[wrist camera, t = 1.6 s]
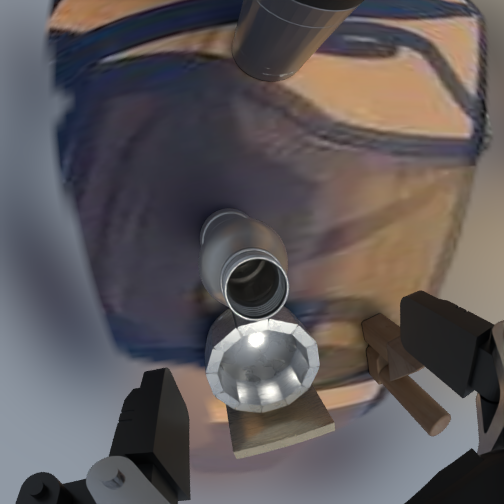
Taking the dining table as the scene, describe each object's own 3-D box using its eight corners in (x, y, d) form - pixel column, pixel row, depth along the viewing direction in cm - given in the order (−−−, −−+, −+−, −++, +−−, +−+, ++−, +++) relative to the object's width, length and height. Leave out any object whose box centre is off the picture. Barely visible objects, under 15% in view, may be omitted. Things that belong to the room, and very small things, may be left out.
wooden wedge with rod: (380, 311, 41) (460, 370, 24) (386, 364, 44) (450, 427, 26) (360, 321, 41) (436, 387, 23) (368, 374, 43) (428, 442, 26)
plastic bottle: (206, 268, 35) (211, 356, 16) (194, 212, 34) (183, 240, 15) (258, 257, 36) (319, 330, 17) (249, 202, 35) (306, 216, 15)
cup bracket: (194, 308, 36) (191, 358, 25) (289, 283, 38) (325, 322, 26) (225, 399, 40) (235, 459, 28) (306, 377, 41) (336, 429, 30)
